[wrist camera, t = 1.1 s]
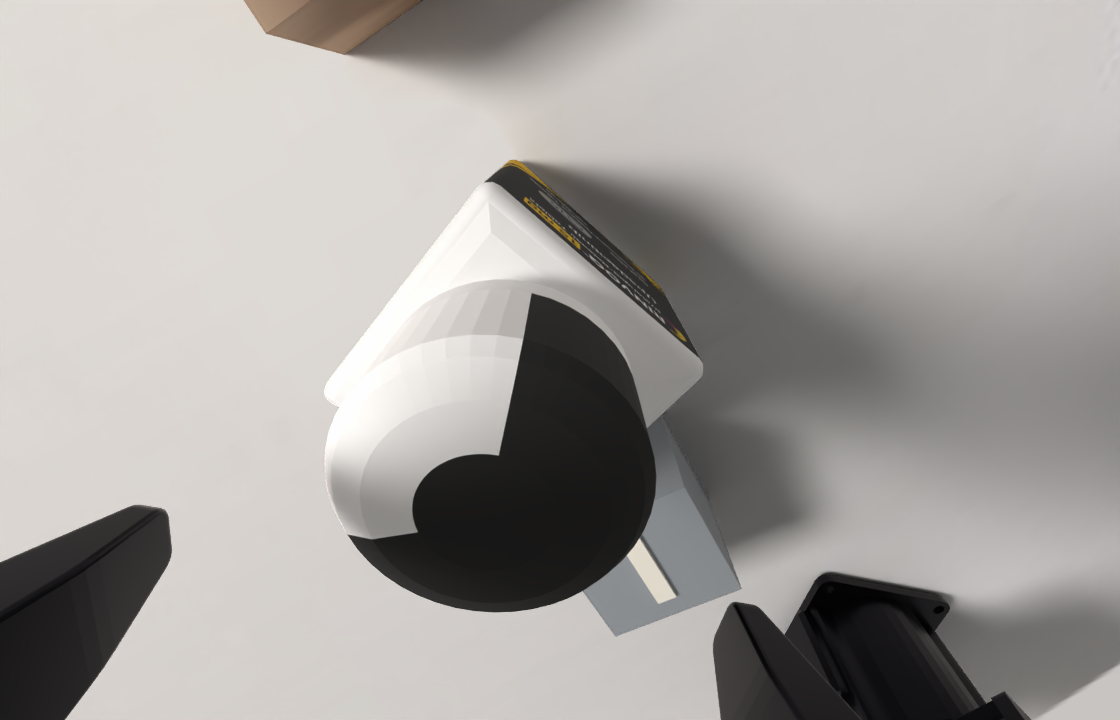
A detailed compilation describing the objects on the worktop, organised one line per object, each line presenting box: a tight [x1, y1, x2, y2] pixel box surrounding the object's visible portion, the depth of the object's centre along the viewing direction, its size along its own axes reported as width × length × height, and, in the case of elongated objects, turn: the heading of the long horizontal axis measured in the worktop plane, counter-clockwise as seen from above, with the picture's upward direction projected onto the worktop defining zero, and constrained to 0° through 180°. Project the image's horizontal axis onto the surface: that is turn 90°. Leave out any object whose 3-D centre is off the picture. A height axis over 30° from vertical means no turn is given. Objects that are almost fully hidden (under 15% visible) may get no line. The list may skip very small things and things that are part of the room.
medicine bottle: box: [324, 160, 703, 612], centre depth 15 cm, size 7×7×12 cm
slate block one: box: [583, 415, 742, 636], centre depth 21 cm, size 5×5×5 cm
